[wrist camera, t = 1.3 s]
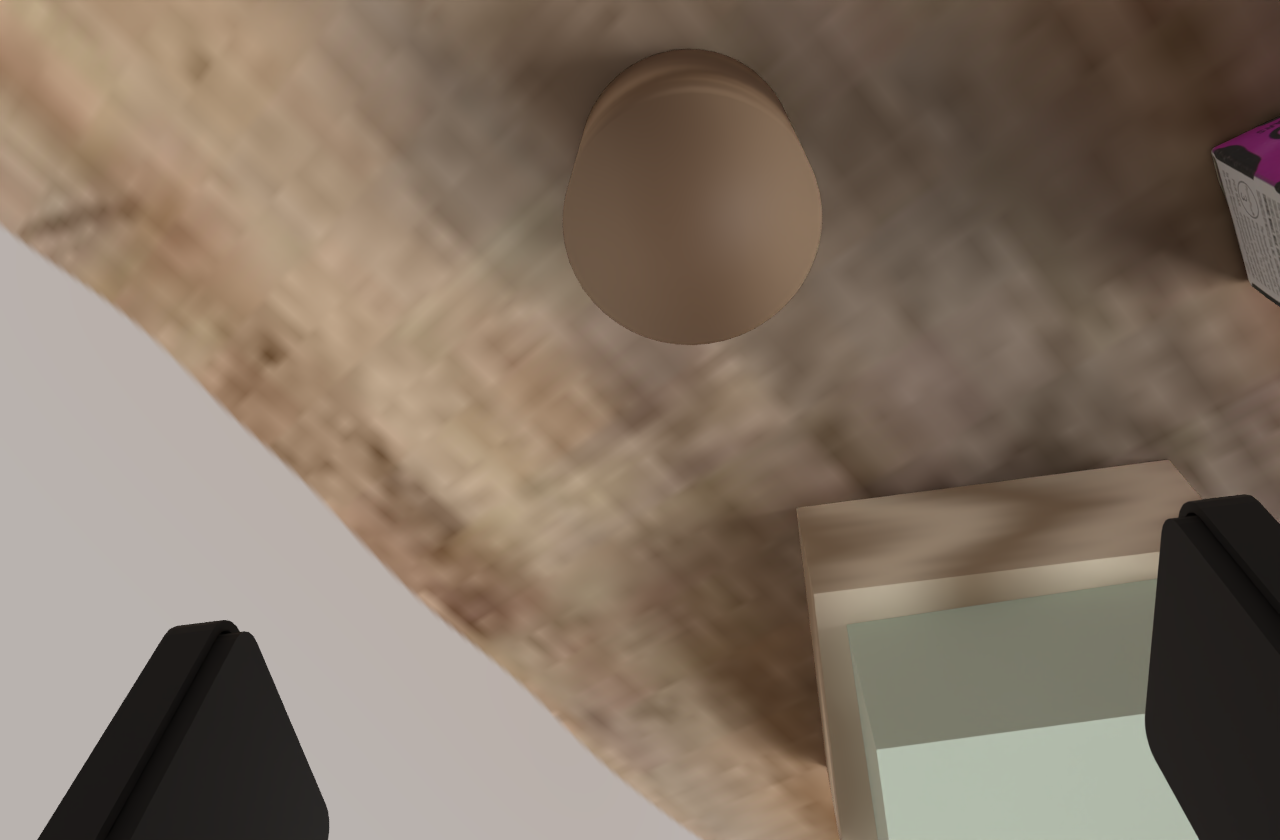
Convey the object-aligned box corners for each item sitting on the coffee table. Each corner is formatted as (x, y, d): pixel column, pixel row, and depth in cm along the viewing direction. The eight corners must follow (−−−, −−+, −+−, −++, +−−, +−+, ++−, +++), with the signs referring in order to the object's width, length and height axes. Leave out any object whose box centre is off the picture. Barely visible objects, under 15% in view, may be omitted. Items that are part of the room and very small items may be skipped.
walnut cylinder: (783, 32, 28) (810, 72, 23) (802, 245, 31) (831, 326, 26) (562, 67, 29) (539, 116, 23) (600, 275, 31) (587, 360, 26)
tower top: (1193, 573, 30) (1283, 694, 26) (1182, 814, 35) (1257, 952, 31) (846, 624, 31) (876, 749, 27) (879, 851, 36) (909, 989, 32)
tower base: (1164, 453, 34) (1238, 542, 30) (1143, 725, 40) (1203, 834, 35) (794, 502, 35) (813, 593, 31) (825, 760, 41) (844, 868, 37)
